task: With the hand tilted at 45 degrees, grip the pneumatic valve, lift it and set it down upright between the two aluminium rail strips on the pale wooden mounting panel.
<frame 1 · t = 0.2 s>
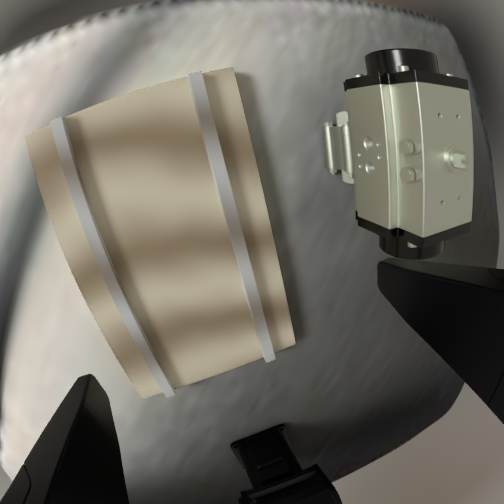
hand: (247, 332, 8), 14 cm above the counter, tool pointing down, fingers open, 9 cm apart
pneumatic valve: (334, 145, 23), on the counter
mounting panel: (171, 250, 22), on the counter
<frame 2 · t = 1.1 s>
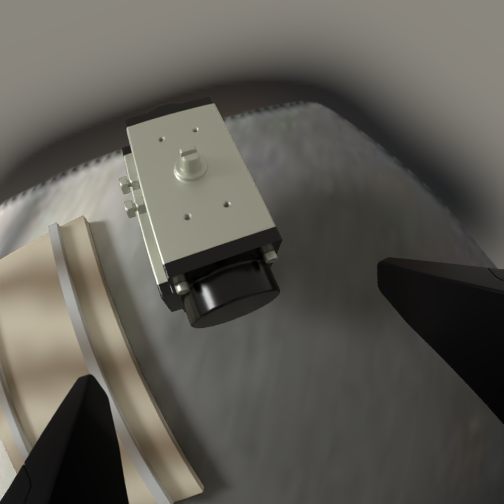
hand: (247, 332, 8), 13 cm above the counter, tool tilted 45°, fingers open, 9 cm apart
pneumatic valve: (197, 261, 23), on the counter
mounting panel: (54, 381, 19), on the counter
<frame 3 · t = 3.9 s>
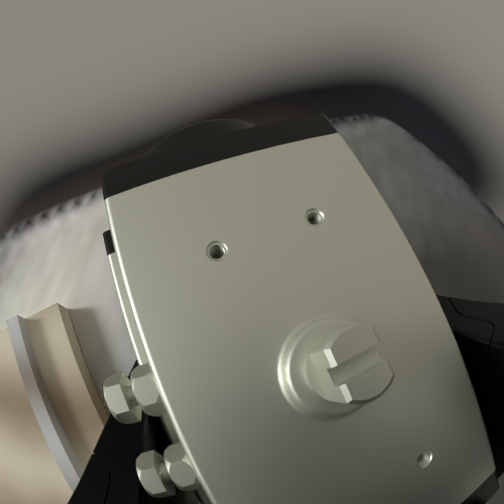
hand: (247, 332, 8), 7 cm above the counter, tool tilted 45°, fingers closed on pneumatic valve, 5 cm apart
pneumatic valve: (247, 379, 14), on the counter, touching gripper
when the fingers open (9 cm above the counter, at t = 8.0 s): pneumatic valve stays where it is, resting on mounting panel.
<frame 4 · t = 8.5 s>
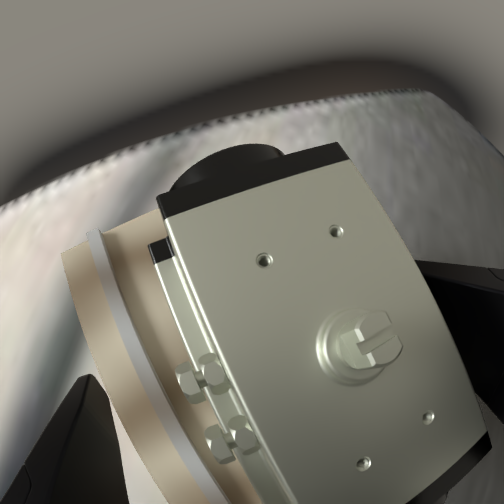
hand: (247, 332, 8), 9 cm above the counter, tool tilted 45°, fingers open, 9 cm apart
pneumatic valve: (261, 372, 16), point 1 cm above the counter, touching mounting panel
mounting panel: (244, 379, 16), on the counter
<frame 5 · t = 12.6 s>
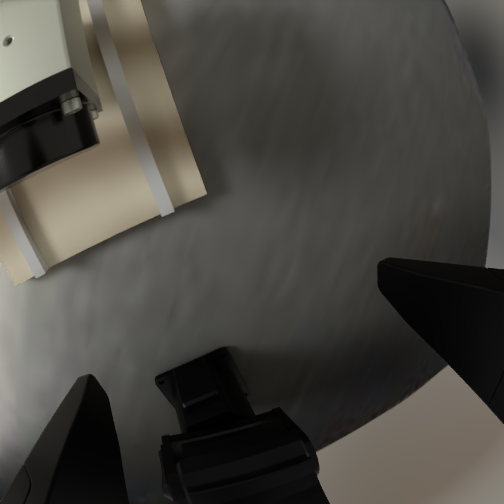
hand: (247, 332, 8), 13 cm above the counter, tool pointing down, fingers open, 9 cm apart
pneumatic valve: (51, 69, 13), point 1 cm above the counter, touching mounting panel
mounting panel: (42, 78, 14), on the counter
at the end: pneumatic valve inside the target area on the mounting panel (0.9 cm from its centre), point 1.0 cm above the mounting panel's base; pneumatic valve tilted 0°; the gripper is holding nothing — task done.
